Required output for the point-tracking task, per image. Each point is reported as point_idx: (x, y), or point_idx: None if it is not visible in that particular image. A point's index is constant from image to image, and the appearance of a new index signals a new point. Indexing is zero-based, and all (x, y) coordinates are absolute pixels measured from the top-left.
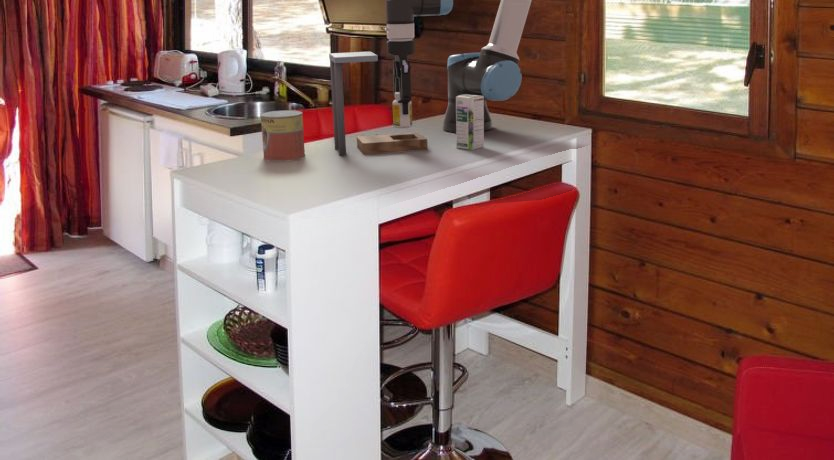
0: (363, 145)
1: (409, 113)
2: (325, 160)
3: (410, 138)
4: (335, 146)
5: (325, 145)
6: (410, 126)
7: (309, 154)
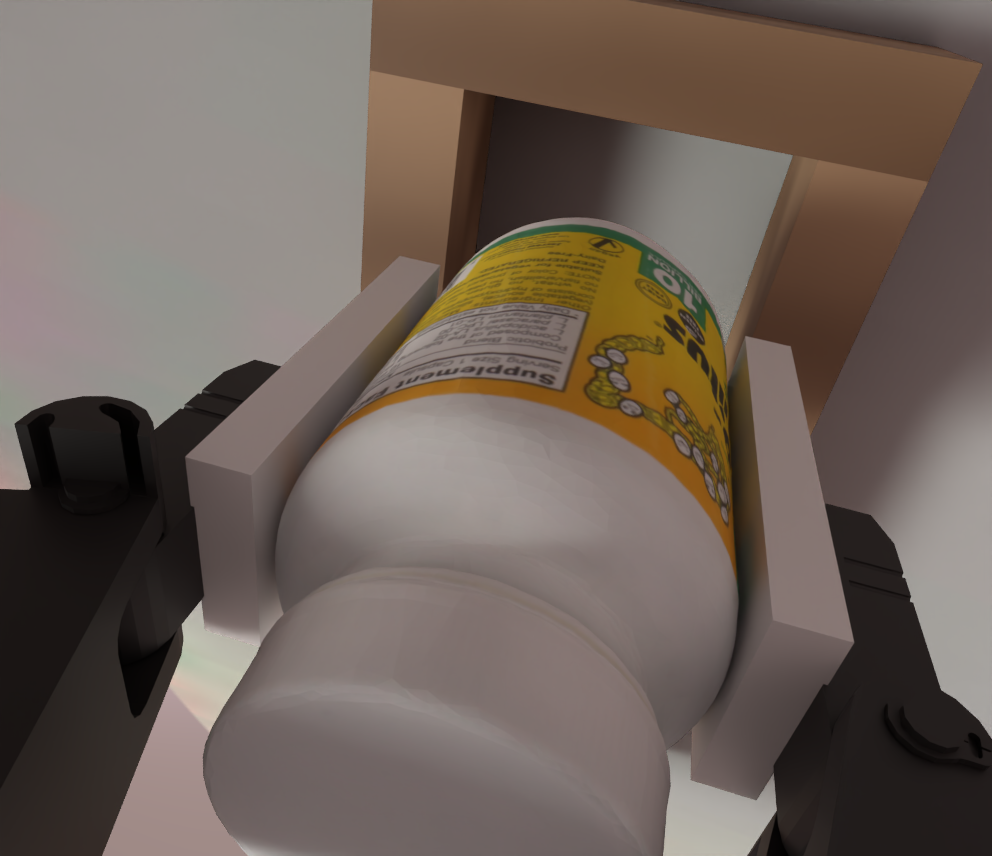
0: None
1: (810, 466)
2: (720, 836)
3: (474, 123)
4: None
5: (250, 654)
6: (705, 293)
7: None
